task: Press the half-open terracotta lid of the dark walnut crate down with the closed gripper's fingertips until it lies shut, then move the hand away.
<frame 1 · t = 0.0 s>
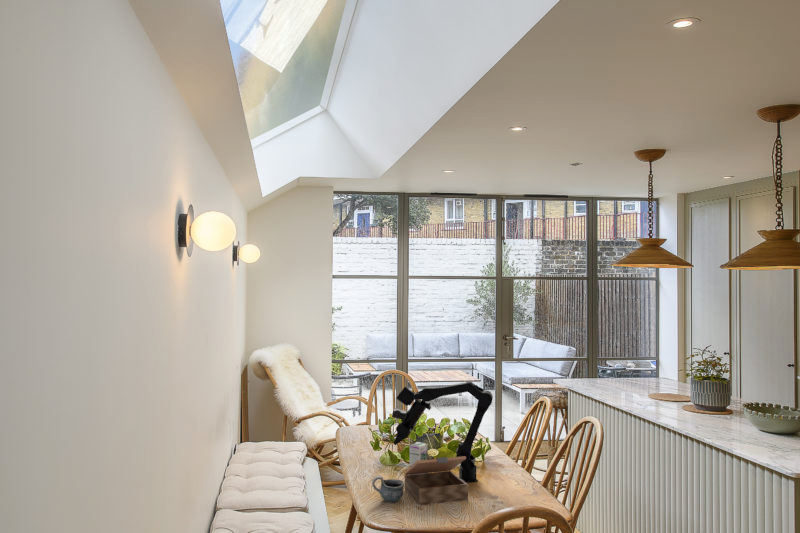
hand: (396, 441, 269), 15 cm above the table, tool tilted 35°, fingers open, 9 cm apart
crate: (435, 495, 244), on the table
syrup box: (418, 478, 266), on the table
lid: (434, 466, 245), point 11 cm above the table, hinge at 30.0°
mug: (388, 501, 237), on the table
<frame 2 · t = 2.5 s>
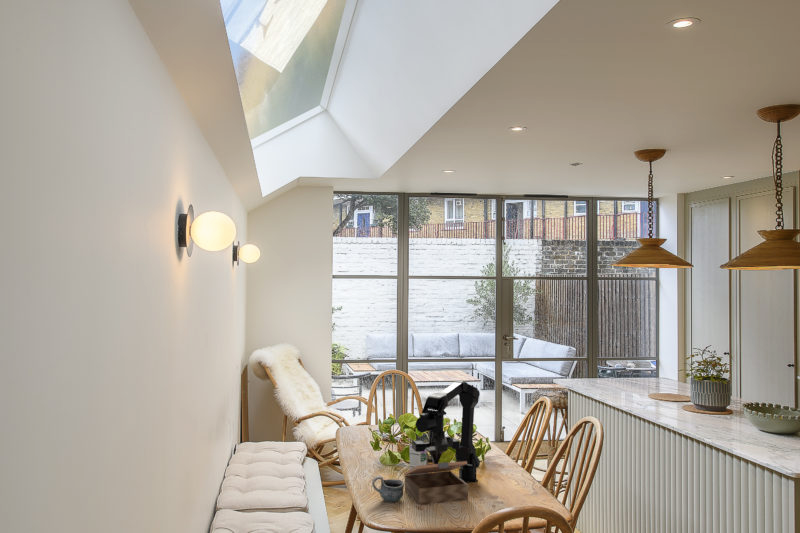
hand: (435, 466, 244), 11 cm above the table, tool pointing down, fingers closed, pressing on lid
lid: (435, 468, 245), point 10 cm above the table, hinge at 23.9°, touching gripper
everything else where it was.
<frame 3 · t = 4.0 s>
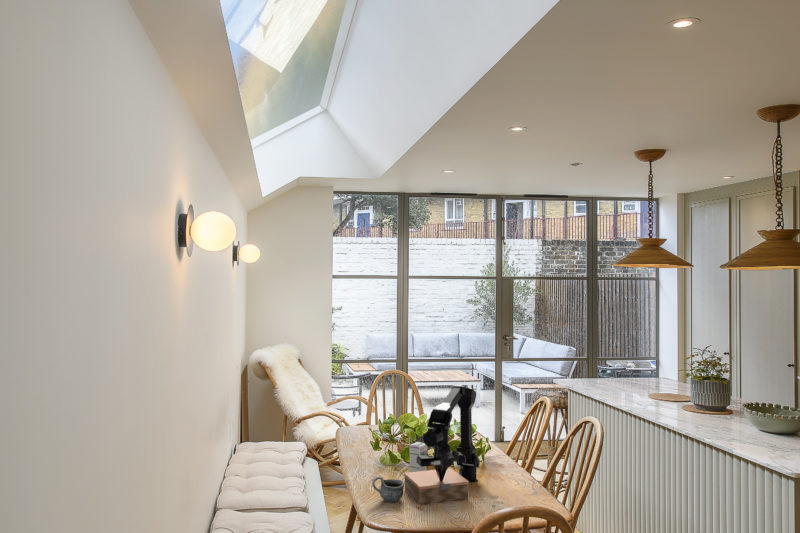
hand: (441, 481, 239), 7 cm above the table, tool pointing down, fingers closed, pressing on lid
lid: (436, 479, 244), point 6 cm above the table, hinge at 0.2°, touching gripper
everything else where it was.
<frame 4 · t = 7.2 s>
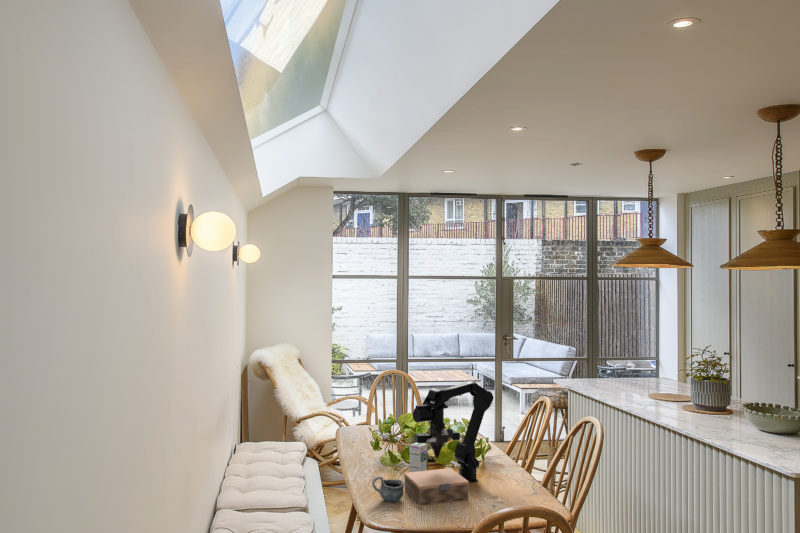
hand: (436, 457, 254), 12 cm above the table, tool pointing down, fingers closed
lid: (436, 479, 244), point 6 cm above the table, hinge at 0.1°
everything else where it was.
at the end: lid at +0° (first picture: +30°); mug moved 0.3 cm from its start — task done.
